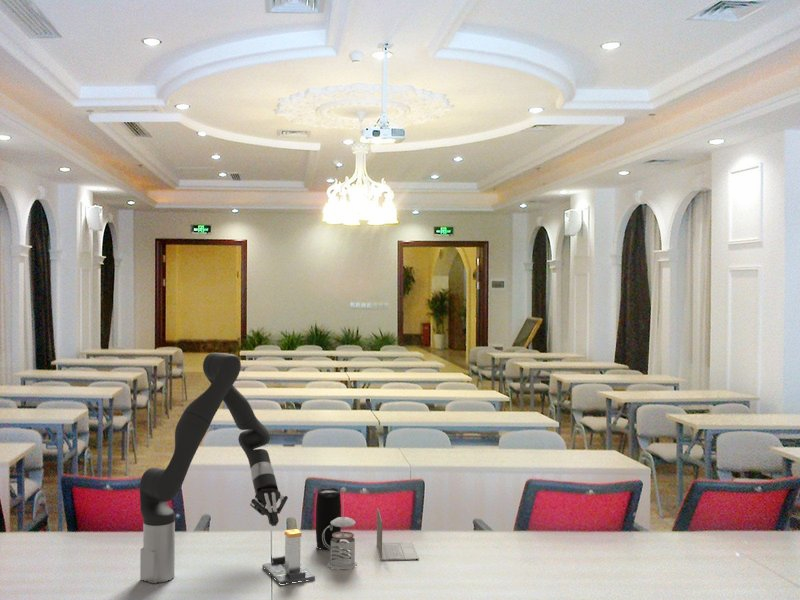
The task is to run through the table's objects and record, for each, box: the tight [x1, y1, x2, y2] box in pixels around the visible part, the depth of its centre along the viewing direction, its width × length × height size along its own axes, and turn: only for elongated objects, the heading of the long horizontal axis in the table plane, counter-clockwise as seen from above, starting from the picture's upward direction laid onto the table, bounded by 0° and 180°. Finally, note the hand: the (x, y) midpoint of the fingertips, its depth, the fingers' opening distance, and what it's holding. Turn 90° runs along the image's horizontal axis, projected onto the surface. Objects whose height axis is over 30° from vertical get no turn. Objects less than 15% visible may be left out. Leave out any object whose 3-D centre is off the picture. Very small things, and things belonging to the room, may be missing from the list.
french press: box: [322, 487, 358, 570], centre depth 267 cm, size 10×12×25 cm
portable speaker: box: [315, 487, 342, 550], centre depth 285 cm, size 9×9×20 cm
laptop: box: [376, 507, 419, 562], centre depth 281 cm, size 18×12×13 cm
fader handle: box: [284, 528, 302, 574], centre depth 255 cm, size 4×4×13 cm
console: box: [262, 555, 316, 584], centre depth 259 cm, size 17×11×3 cm, turn 27°
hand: (274, 524), depth 268 cm, fingers closed
